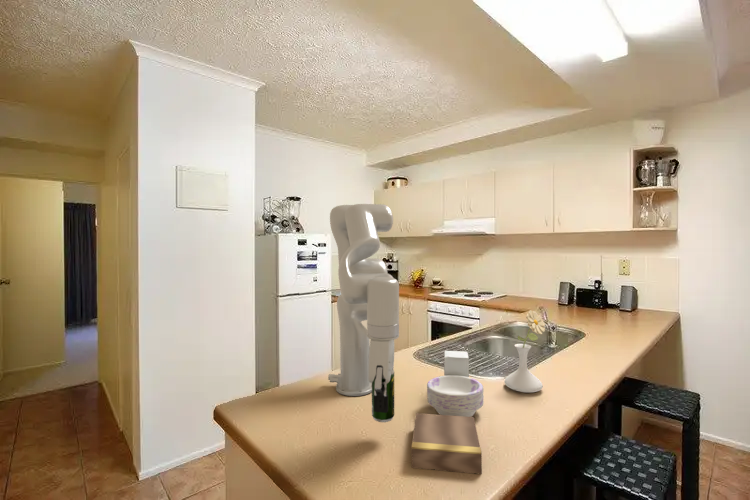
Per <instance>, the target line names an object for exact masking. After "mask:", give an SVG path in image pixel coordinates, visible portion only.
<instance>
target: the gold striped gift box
mask: <svg viewBox="0 0 750 500" xmlns="http://www.w3.org/2000/svg"><path fill="white" fill-rule="evenodd" d="M475 421H476V420H475V417H474V416H471V417H465V416H450V415H440V414H432V413H419V412H417V413H415V419H414V426H413V427H414V428H413V434H412V435H413V436H412V441H411V442H412V443H411V469H421V468H423V470H431V469H435V470H434V471H442V470H446V471H445V472H453V473H454V472H456V473H463V472H465V473H466V474H474V473H479V474H478V475H482V474H483V471H482V467H483V466H482V462H483V460H482V459H483V458H482V449H481V448H482V447H481V445H480V440H479V436H478V431H477V427H476V422H475Z"/></svg>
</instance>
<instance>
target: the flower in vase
mask: <svg viewBox="0 0 750 500" xmlns="http://www.w3.org/2000/svg"><path fill="white" fill-rule="evenodd" d="M525 317H526V322H527V326H528V327H529V328H528V331H527V334H526V337H524V338H523V337H522V336H520V335H517V340H519V341H522V342H523V343H516V344H514V347H515V349H516V350H517V354H518V358H519V359H518V360H519V363H518V365H519V366H518V367H517V369H516V370H515V371H513V372H512V373H509V374H508V375H507V376H506V377H505V378H504V384H505V386H506V387H508V388H509V389H511V390H513V391H515V392H519V393H520V392H521V393H535V392H539V391H541V390H542V389H543V388H544V385H543V382H542V381H541V380H540V379H539V378H538V377H537V376H536V375H535V374H533V373H532V372H531V371H530V370H529V369H528V353H529V352H530V350H531V348H532V346H531V345H529V344H526V342H527V339H529V340H531V341H532V342H535V341H537V340H538V339H539V337H538V335H543V333H545V331H546V327H545V326H546V323H545V322H544V320H543V318H542V316H541V315H539V314H538V312H537V311H535V310H533V311H532V310H531V309H530V310H529V311H528V313H526V316H525ZM530 331H531V332H530ZM536 334H537V335H536Z"/></svg>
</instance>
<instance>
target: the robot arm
mask: <svg viewBox="0 0 750 500" xmlns="http://www.w3.org/2000/svg"><path fill="white" fill-rule="evenodd" d="M392 212H393V211H392V210H391V208H390V207H389V206H388V205H386V204H384V203H383V204H381V203H378V204H376V203H354V204H343V205H336V206H334V207H333V208H332V209H331V210H330V213H329V223H330V228H331V229H330V231H331V233H332V236H333V239H334V241H335V243H336V247H337V254H338V255H337V257H338V271H337V272H338V273H337V275H338V281H339V289H340V295H338V296H337V300H336V308H337V315H338V322H339V343H340V344H339V349H340V353H339V354H340V358H339V361H340V372H339V373H338V374H335V373H329V374H328V378H327V380H328V381H329V382H330V383H336V386H335V390H336V392H337V393H338V394H340V395H342V396H348V397H359V396H360V397H361V396H365V395H368V394H370V393H371V394H372V382H373V380H374V378H375V389H374V411H375V412H382V413H387V412H388V395H387V383H389V382H390V379H391V374H392V369H393V370H394V366H395V340H398V338H399V337H400V283H399V281H398V279H396V278H394V277H393V275H391V274H390V273H388V269H387V264H386V263H385V261H383V260H382V259H380V258H374V257H373V258H372V256H374V255H375V254H377V252H378V251H379V250H380V248H381V240H380V237H379V234H378V233H386V232H389V231H391V230H392V227H393V225H394V216H393V213H392ZM364 321H366V326H365V325H364V324H363V323H362V322H364ZM382 379H385V381H382ZM382 384H384V388H383V387H382Z"/></svg>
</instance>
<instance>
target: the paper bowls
mask: <svg viewBox="0 0 750 500" xmlns="http://www.w3.org/2000/svg"><path fill="white" fill-rule="evenodd" d="M426 392H427V393H426V394H427V395H426V396H427V404H429V405H430V406H431V407H433V408H434V409H435V410H436V413H438V415H450V416H465V417H474V415H475V413H476V412H477V411H478V410H479V409H482V407H483V406H484V403H485V401H484V400H485V399H484V386H483V384H482V383H481V382H480V381H479V380H477V379H474V377H473V378H472V377H470V376H469V377H465V376H457V375H447V376H444V375H440V376H436V377H433V378H431V379H429V380H428V382H427V384H426Z"/></svg>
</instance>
